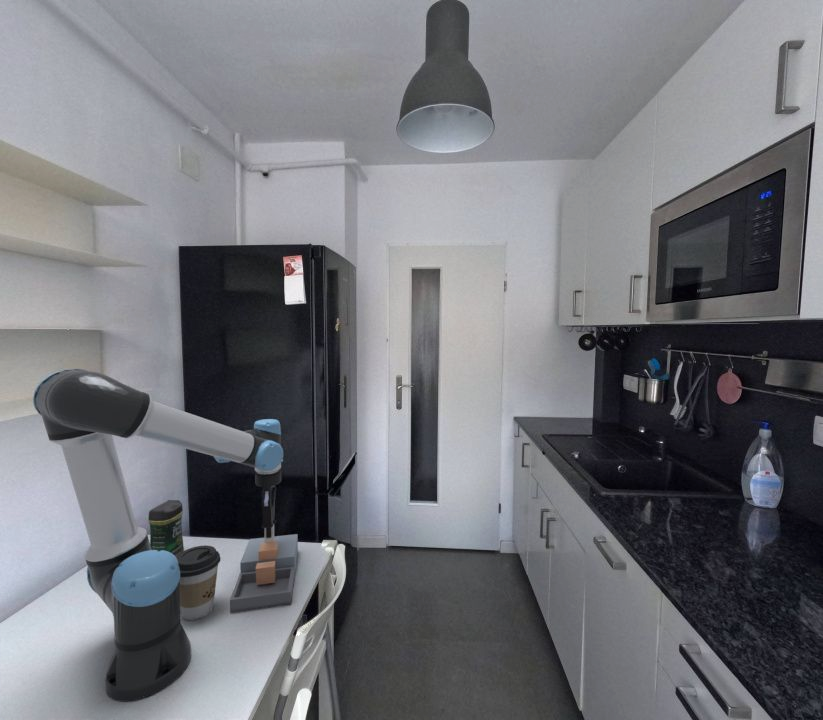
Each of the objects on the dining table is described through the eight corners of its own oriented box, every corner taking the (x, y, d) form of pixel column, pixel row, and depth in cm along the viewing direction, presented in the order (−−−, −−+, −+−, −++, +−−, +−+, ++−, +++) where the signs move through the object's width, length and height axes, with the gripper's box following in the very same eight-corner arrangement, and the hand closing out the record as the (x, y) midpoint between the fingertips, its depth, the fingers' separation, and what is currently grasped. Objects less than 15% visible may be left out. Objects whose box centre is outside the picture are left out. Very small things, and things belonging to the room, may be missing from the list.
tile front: (276, 576, 114) (275, 582, 112) (257, 579, 113) (256, 585, 110) (275, 560, 113) (274, 566, 111) (256, 563, 112) (255, 568, 110)
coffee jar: (169, 569, 121) (167, 510, 120) (144, 568, 121) (142, 509, 120) (188, 552, 130) (187, 497, 130) (166, 552, 131) (164, 497, 130)
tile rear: (276, 557, 116) (276, 549, 116) (258, 559, 115) (258, 551, 115) (278, 549, 121) (278, 541, 121) (261, 551, 120) (261, 543, 120)
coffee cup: (207, 626, 96) (205, 567, 96) (161, 625, 97) (159, 566, 96) (230, 596, 108) (228, 543, 107) (189, 596, 108) (187, 542, 107)
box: (290, 604, 104) (290, 591, 104) (230, 613, 101) (229, 600, 101) (294, 578, 116) (294, 566, 116) (240, 585, 113) (239, 573, 113)
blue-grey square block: (294, 576, 117) (294, 556, 117) (240, 583, 114) (240, 562, 113) (297, 551, 131) (297, 534, 130) (249, 557, 127) (249, 539, 127)
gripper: (278, 476, 114) (280, 555, 115) (283, 463, 127) (284, 534, 128) (251, 478, 113) (253, 558, 114) (258, 464, 125) (259, 537, 126)
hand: (269, 545), depth 121 cm, fingers closed
